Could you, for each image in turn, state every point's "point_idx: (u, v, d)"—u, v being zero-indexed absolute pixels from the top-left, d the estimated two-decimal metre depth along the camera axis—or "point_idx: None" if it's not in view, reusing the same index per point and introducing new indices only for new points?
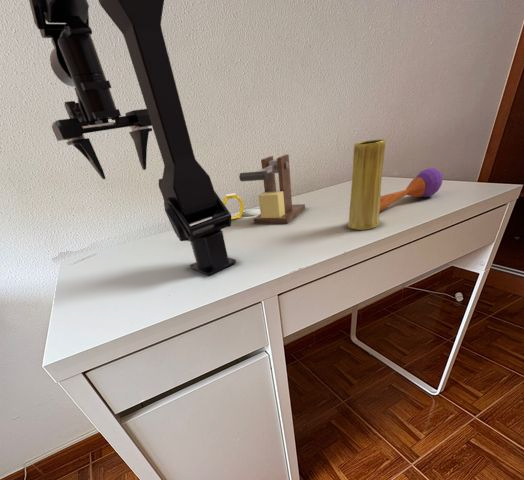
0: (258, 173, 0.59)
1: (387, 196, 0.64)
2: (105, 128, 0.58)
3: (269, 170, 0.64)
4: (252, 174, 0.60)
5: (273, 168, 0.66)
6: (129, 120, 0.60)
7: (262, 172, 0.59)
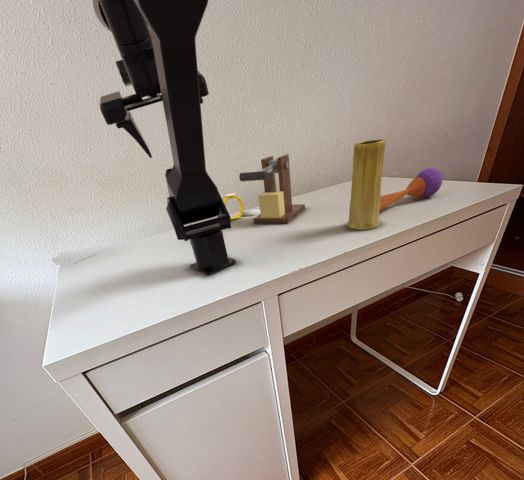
0: (258, 173, 0.59)
1: (387, 196, 0.64)
2: (152, 101, 0.52)
3: (269, 170, 0.64)
4: (252, 174, 0.60)
5: (273, 168, 0.66)
6: None
7: (262, 172, 0.59)
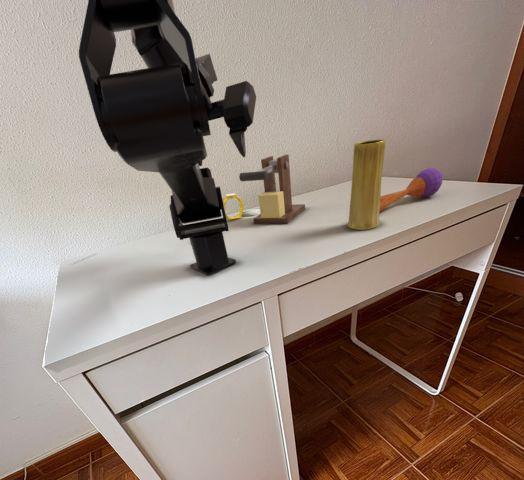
0: (258, 173, 0.59)
1: (387, 196, 0.64)
2: None
3: (269, 170, 0.64)
4: (252, 174, 0.60)
5: (273, 168, 0.66)
6: (223, 111, 0.46)
7: (262, 172, 0.59)
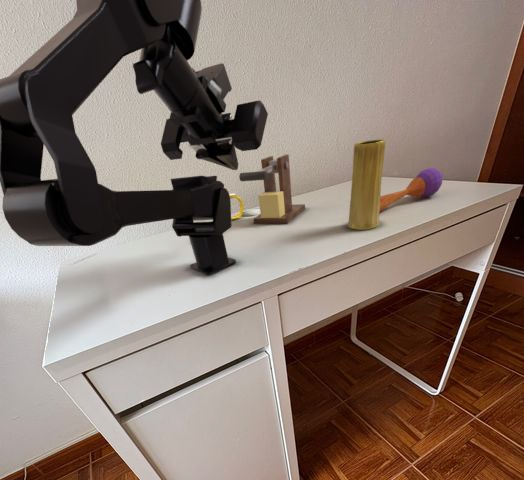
0: (258, 173, 0.59)
1: (387, 196, 0.64)
2: None
3: (269, 170, 0.64)
4: (252, 174, 0.60)
5: (273, 168, 0.66)
6: None
7: (262, 172, 0.59)
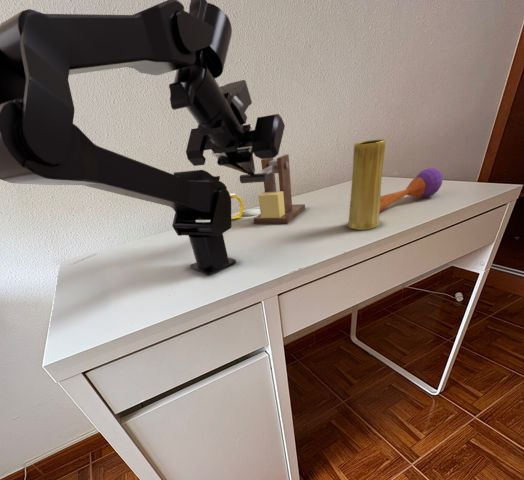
0: (258, 175, 0.59)
1: (387, 196, 0.64)
2: None
3: (269, 171, 0.65)
4: (252, 176, 0.60)
5: (273, 168, 0.66)
6: None
7: (262, 174, 0.59)
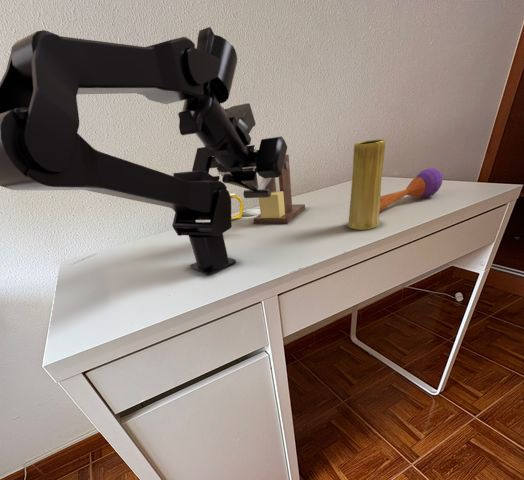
0: (261, 192, 0.61)
1: (387, 196, 0.64)
2: None
3: None
4: (256, 193, 0.62)
5: None
6: (257, 160, 0.52)
7: (265, 191, 0.61)
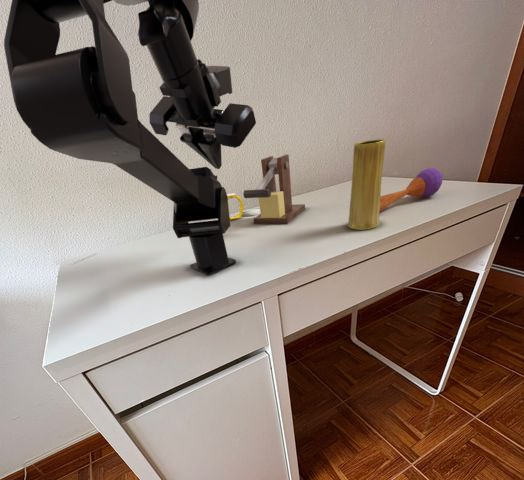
0: (261, 192, 0.61)
1: (387, 196, 0.64)
2: None
3: (270, 177, 0.65)
4: (256, 193, 0.62)
5: (273, 172, 0.66)
6: None
7: (265, 191, 0.61)
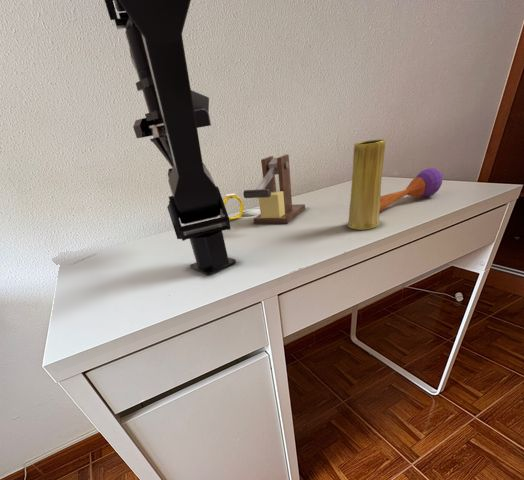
0: (261, 192, 0.61)
1: (387, 196, 0.64)
2: None
3: (270, 177, 0.65)
4: (256, 193, 0.62)
5: (273, 172, 0.66)
6: None
7: (265, 191, 0.61)
